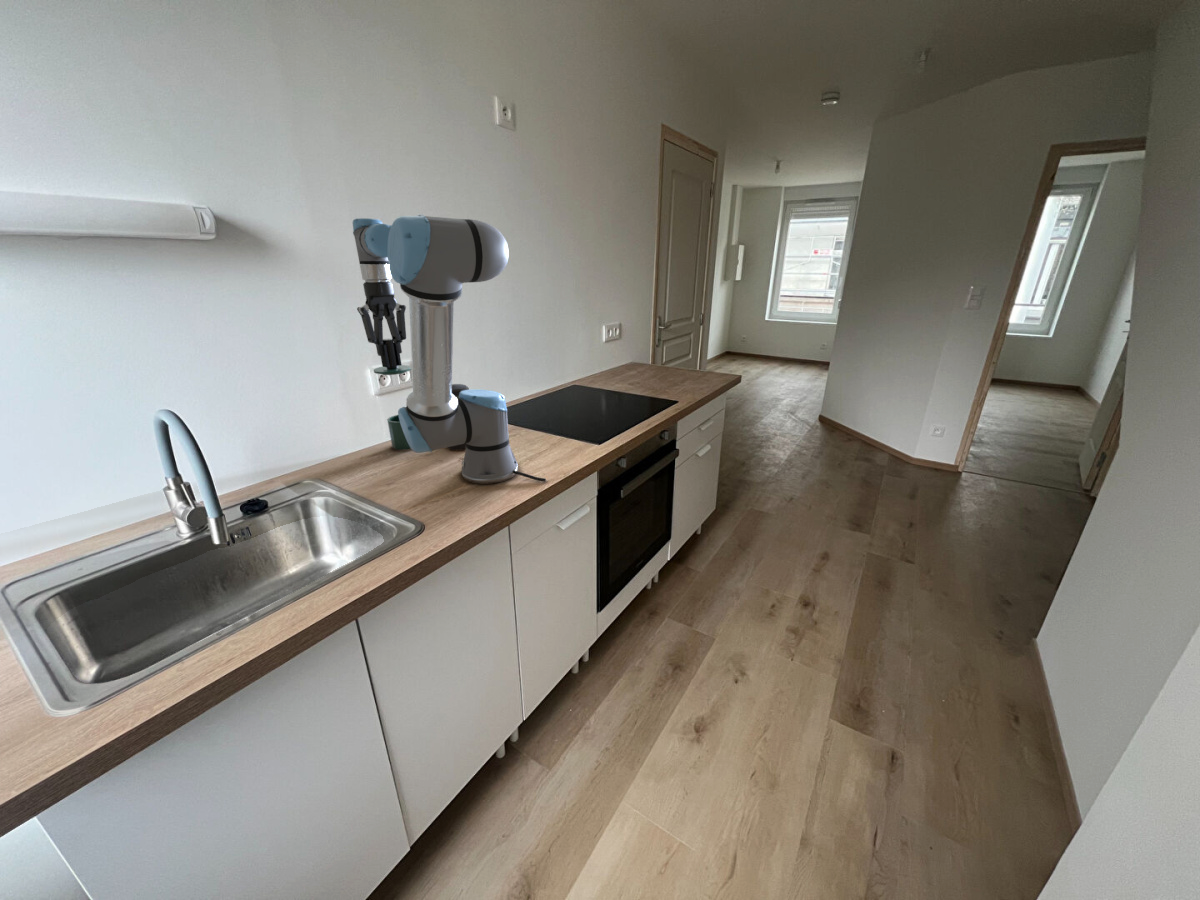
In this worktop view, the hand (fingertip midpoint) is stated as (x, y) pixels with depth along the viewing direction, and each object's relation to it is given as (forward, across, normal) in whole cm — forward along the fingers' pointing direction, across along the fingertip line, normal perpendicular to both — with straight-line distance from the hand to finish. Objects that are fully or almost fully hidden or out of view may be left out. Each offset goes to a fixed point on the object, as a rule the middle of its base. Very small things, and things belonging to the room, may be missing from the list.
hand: (392, 365), depth 134 cm
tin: (+27, -2, -2) cm, 27 cm away
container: (+27, -12, +12) cm, 32 cm away
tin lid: (+1, 0, 0) cm, 1 cm away
